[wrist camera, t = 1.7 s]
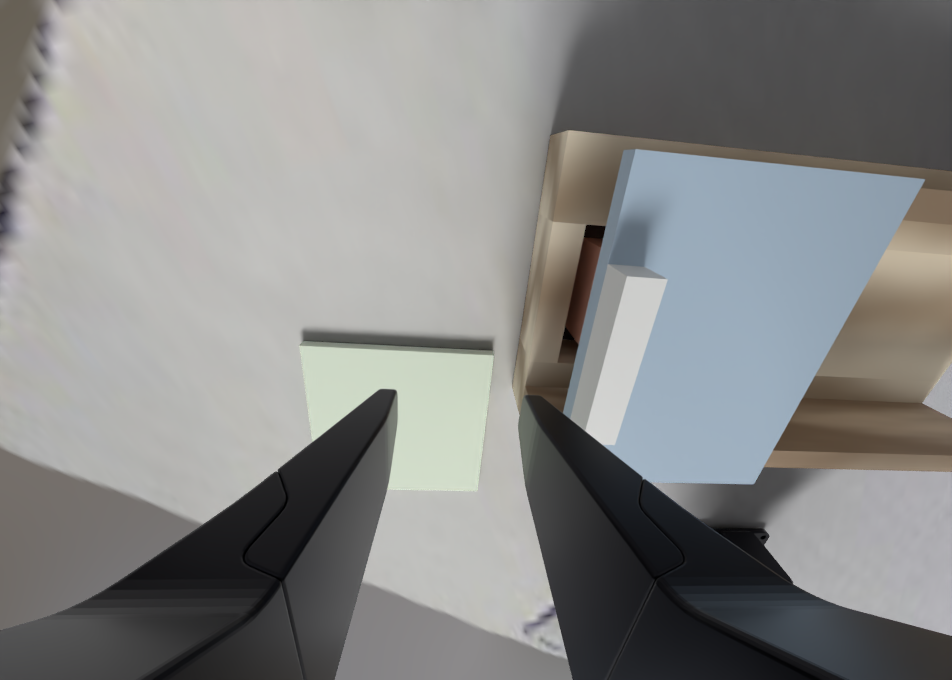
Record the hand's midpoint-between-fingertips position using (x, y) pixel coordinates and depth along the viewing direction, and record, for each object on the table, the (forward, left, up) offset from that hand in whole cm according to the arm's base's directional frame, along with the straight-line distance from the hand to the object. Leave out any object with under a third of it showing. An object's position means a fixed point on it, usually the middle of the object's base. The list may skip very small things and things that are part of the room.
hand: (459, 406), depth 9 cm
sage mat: (-10, +3, -12) cm, 16 cm away
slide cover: (0, -9, -4) cm, 10 cm away
